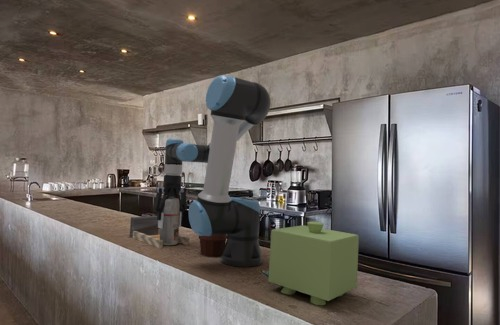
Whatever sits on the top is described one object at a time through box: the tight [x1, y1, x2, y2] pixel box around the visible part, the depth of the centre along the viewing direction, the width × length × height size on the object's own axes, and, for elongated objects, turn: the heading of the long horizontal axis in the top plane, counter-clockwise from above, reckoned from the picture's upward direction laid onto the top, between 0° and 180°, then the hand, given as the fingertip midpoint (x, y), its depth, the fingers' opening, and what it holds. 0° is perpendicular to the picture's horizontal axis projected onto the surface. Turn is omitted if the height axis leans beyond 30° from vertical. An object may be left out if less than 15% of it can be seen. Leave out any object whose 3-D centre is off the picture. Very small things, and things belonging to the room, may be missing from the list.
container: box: [268, 220, 360, 306], centre depth 97 cm, size 19×16×20 cm
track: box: [129, 215, 190, 249], centre depth 154 cm, size 27×14×9 cm, turn 44°
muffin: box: [198, 234, 227, 257], centre depth 135 cm, size 12×11×10 cm
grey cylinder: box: [160, 197, 180, 246], centre depth 148 cm, size 8×8×20 cm
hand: (169, 227), depth 148 cm, fingers closed on grey cylinder, 8 cm apart
